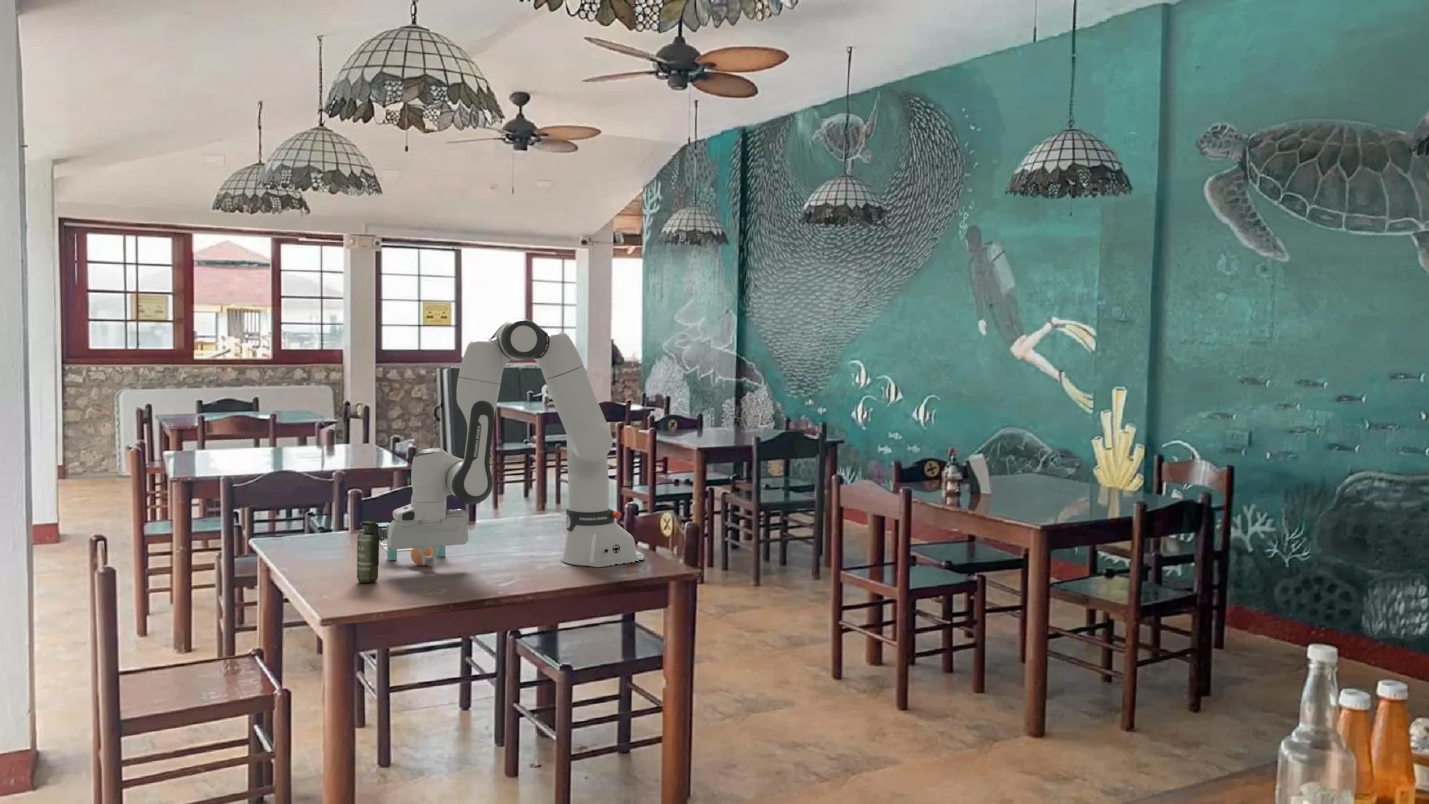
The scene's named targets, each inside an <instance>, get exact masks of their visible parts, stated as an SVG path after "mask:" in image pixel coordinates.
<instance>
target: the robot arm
mask: <svg viewBox="0 0 1429 804" xmlns="http://www.w3.org/2000/svg"><path fill="white" fill-rule="evenodd" d="M495 331H496V332H494V333H493V335H492V336H491V337H490V338H485V337H484V338H482V337H481V338H476V339H473V340H471V341H470V342H469V343H468V344H467V346H466V349H465V350H464V351H465V352H464V353H463V357H462V360H461V363H460V367H459V372H458V376H457V382H456V403H457V406H458V408H459V409H460V411H461V412H462V414H463V416H464V419H465V422H466V427H467V430H466V431H467V433H466V441H465V449H464V456H463V457H464V458H460V457H459V456H458V457H457V456H455V455H453V454H451V453H449V452H447V451H445V450H444V449H443V448H441V447H432V448H431V447H430V448H425V449H422V450H420V451H417V452H416V453H415V455H414V456H413V459H412V463H411V475H410V478H411V479H410V483H411V488H412V494H411V497H410V498H411V499H410V503H409V504H407V505H404V506H401V507H399V508H396V509H394V510H393V511H392V517H393V520H391V522H390V523H391V524H390V527H389V533H388V545H389V547H390V548H391V549H393V550H397V549H410V548H418V551H419V553H420V555H421V556H422V563H423V564H427V565H429V564H430V565H433V564H436V557H437V556H436V555H437V554H438V552H439V546H445V547H447V546H449V547H451V546H461V545H463V546H464V545H466V544H467V543H468V542H469V530H468V524H469V513H468V512H467V511H466V510H464V509H462V508H458V509H447V497H448V496H451V495H452V496H454V497H456V498H457V500H459V501H460V502H462V503H464V504H466V505H476V504H480V503H482V502H483V501H485V500H487V499H488V497H490V495H491V493H492V490H493V487H494V480H493V479H494V478H493V475H492V472H491V467H490V464H491V463H490V462H491V461H490V460H491V453H492V451H491V450H492V445H493V443H492V442H493V434H494V423H495V422H494V421H495V415H496V409H497V404H498V401H499V395H500V390H501V385H502V384H501V383H502V378H503V377H502V376H503V372H504V370H505V367H506V365H507V364H508V363H509V362H511V361H527V360H534V361H535V362H536V363H537V365H538V366H539V368H540V370H541V372H542V375H543V379H544V382H545V383H546V387H547V388H548V392H549V394H550V396H551V399H552V402H553V405H554V407H555V409H556V411H557V414H558V417H559V418H560V421H561V424H562V426H563V428H564V431H565V433H566V461H567V483H568V485H567V494H568V495H567V508H566V510H565V511H566V513H565V528H566V535H565V536H566V537H565V543H564V548H563V551H562V556H561V561H562V562H563V563H566V564H568V565H574V566H575V565H576V566H586V567H587V566H589V567H593V568H604V567H610V565H611V566H615V564H618V565H624V564H623V563H625V564H630V563H631V562H632V563H636V562H635V561H638V562H640V561H639V560H643V559H644V560H645V557H644V554H643V553H642V552H640V551H638V550H637V547H636V542H635V539H634V537H633V535H632V534H631V533H629V532H628V531H627V530H626V529H625V528H623V527H622V526H621V525H620V524H618V523H617V522H616V521H615V519H616V520H620V518H622V513H621V512H620V511H618V510H613V509H611V508H609V507H610V505H609V504H610V503H609V502H610V501H609V500H610V494H609V493H610V479H609V465H608V454H610V453H609V452H611V449H612V445H613V436H612V433H611V430H610V428H609V425H608V422H607V421H606V418H605V416H604V413H603V411H602V408H601V406H600V404H599V401H598V399H597V397H596V395H595V394H596V393H595V392H594V390H593V387H592V385H591V381H590V378H589V376H588V373H587V371H586V368H585V366H584V363H583V360H582V358H581V356H580V354H579V352H578V350H577V347H576V346H575V344H574V342H573V340H572V339H571V337H570V336H569V335H568V334H567V333H565V332H563V331H556V330H555V331H551V332H547V331H545V330H544V329H543V328H542V327H540V325H538V324H537V323H536V322H534V321H532V320H531V319H527V318H522V317H521V318H520V317H517V318H515V317H514V318H512V319H509V320H507V321H505V322H504V323H503V324H502V325H501V326H500V327H498V329H497V330H495ZM425 547H432V549H433V550H434V551H433V553H432V555H431V556H425V555H424V553H423V552H424V551H425ZM644 560H643V561H644Z"/></svg>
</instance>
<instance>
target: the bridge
mask: <svg viewBox="0 0 1429 804" xmlns="http://www.w3.org/2000/svg"><path fill="white" fill-rule="evenodd" d="M390 524H391V522H389V523H386V528H387V539H386V541H387V542H386V543H387V551H386V554H387V555H386V557H387V558H386V559H387V560H388V561H389V560H397V561H398V551H397V550H393V549H391V548H390V547H389V545H388V533H389V527H390ZM437 556H438V557H437ZM441 556H442V557H441ZM443 556H445V557H446V546H439V552H438V554H437V555H436V557H437V558H444V557H443Z"/></svg>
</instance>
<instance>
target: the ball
mask: <svg viewBox="0 0 1429 804" xmlns="http://www.w3.org/2000/svg"><path fill="white" fill-rule="evenodd" d="M433 551H434V550H433V549H432V547H425V551H424V552H423V553H424V555H425V556H431V555H432V553H433ZM410 558H411V560H412V562H413V563H414V564H416V565H417V566H420V567H421V566H428V564H423V563H422V556H421V555H420V553H419V551H418V548H413V549H412V550H410Z"/></svg>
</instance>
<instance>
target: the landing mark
mask: <svg viewBox="0 0 1429 804" xmlns="http://www.w3.org/2000/svg"><path fill="white" fill-rule="evenodd" d="M383 543H384V542H379V546H381V545H387V544H383ZM381 547H382V548H383V549H384V550H385V551H386V552H387V550H386V549H387V547H383V546H381ZM412 549H413V548H410V549H397V552H404V551H405V552H406V551H408V552H409V551H412Z"/></svg>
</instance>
